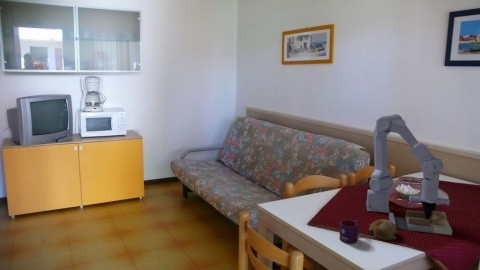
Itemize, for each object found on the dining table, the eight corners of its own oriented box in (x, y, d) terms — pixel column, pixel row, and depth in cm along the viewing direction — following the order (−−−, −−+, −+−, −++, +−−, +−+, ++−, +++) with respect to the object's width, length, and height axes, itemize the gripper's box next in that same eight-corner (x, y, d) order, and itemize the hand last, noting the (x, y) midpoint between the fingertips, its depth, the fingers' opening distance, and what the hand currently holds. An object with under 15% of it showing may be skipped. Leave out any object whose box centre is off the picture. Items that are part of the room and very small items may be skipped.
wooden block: (432, 224, 150) (432, 215, 149) (429, 219, 155) (430, 210, 154) (445, 226, 148) (446, 216, 148) (443, 221, 153) (444, 212, 152)
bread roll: (388, 250, 141) (399, 235, 138) (363, 234, 145) (374, 218, 142) (392, 240, 149) (403, 225, 146) (369, 224, 153) (379, 210, 150)
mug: (335, 238, 143) (336, 222, 142) (352, 232, 148) (353, 216, 147) (349, 245, 138) (350, 228, 136) (366, 238, 143) (367, 221, 142)
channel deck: (391, 228, 152) (392, 217, 151) (389, 216, 163) (389, 207, 162) (451, 235, 145) (452, 224, 144) (445, 222, 156) (446, 212, 156)
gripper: (411, 189, 148) (409, 221, 151) (452, 192, 144) (449, 225, 147) (409, 183, 155) (407, 214, 158) (448, 187, 151) (445, 218, 153)
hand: (427, 219), depth 153 cm, fingers closed
